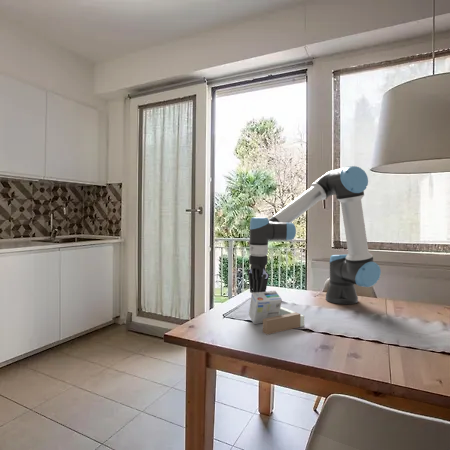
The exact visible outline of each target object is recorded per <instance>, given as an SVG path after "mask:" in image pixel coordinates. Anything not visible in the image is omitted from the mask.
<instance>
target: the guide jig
mask: <svg viewBox="0 0 450 450" xmlns="http://www.w3.org/2000/svg"><path fill="white" fill-rule="evenodd" d="M302 327H305V315H303V314H301V313H299V312H295V311H294V310H291V309H288V308H286V307H282V306H281V307H280V312H279V316H275V317H270V318H265V319H263V323H262V333H263V334H265V335H271V334H276V333H280V332H284V331H288V330H294V329H297V328H302Z"/></svg>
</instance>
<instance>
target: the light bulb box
mask: <svg viewBox="0 0 450 450" xmlns="http://www.w3.org/2000/svg"><path fill="white" fill-rule="evenodd" d="M282 301H283V299H282V298H281V296H280V295H279V294H278V293H277V291H276V290H269V291H267V290H266V292H255V293H251V297H250V302H249V311H248V316H249V317H250V320H251V322H252V324H253V325H259V324H263V319H265V318H270V317H275V316H279V312H280V307H282Z"/></svg>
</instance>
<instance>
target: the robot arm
mask: <svg viewBox="0 0 450 450" xmlns="http://www.w3.org/2000/svg"><path fill="white" fill-rule="evenodd" d="M368 185H369V177H368V175H367V173H366V172H365V170H364V169H362V168H361V167H359V166H356V165H354V166H353V165H352V166H345V167H340V168H335V169H331V170H329V171H327V172H325V174H323V175H322V176H320V177H319V178H317V179H316V180H315V181H314V182H313V183H311V185H310V188H308V189H307V190H306V191H304V192H302V194H300V195H299V196H298V197H296V198H295V199H293V200H292V201H291V202H290V203H288V204H287V205H286V206H284V207H283V208H281V209H280V210H279V211H278V212H276V213H275V214H274V215H272V216H271V217H269V218H268V217H263V216H262V217H260V216H259V217H257V216H256V217H255V216H254V217H251V218H250V221H249V257H248V258H249V259H248V263H249V264H250V265H251V266H250V268H249V269H247V270H246V272H247V275H248V283H249V284H248V285H249V291H250V292H249V293H251V294H252V293H255V292H267V288H268V287H267V286H268V281H269V278H270V276H271V275H270V274H269V273H267V269H266V266H267V265H268V253H269V251H268V250H269V241H292V240H294V239H295V238H296V234H297V229H296V226H295V224H294V223H293V222H294V221H295V220H296V219H298V218H299V217H301V216H302V215H303V214H305V213H306V212H307V211H308V210H309V209H311V208H313V207H314V206H316V204H318V202H320V201H324V200H325V201H326V199H327V198H329V197H332V196H334V195H335V196H336V200H337V201H338V202H339V203H340V205H341V212H342V219H343V226H344V232H345V233H344V234H345V240H346V247H347V254H332V255H330V258H329V263H328V264H329V284H328V285H329V286H328V288H327V290H326V293H325V300H326V301H327V302H329V303H333V304H338V305H355V304H357V303H358V301H359V297H358V294H357V290H356V287H355V285H356V286H358V287H363V288H371V287H373V286H374V285H376V284H377V283H378V281H379V280H380V278H381V274H382V271H381V267H380V265H379V264H378V263H376V262H375V260H374V255H373V254H372V253H371V252H369V246H368V239H367V231H366V225H365V218H364V217H365V216H364V211H363V210H364V209H363V204H362V199H363V197H364V196H365V190H366V189H367V186H368Z"/></svg>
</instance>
